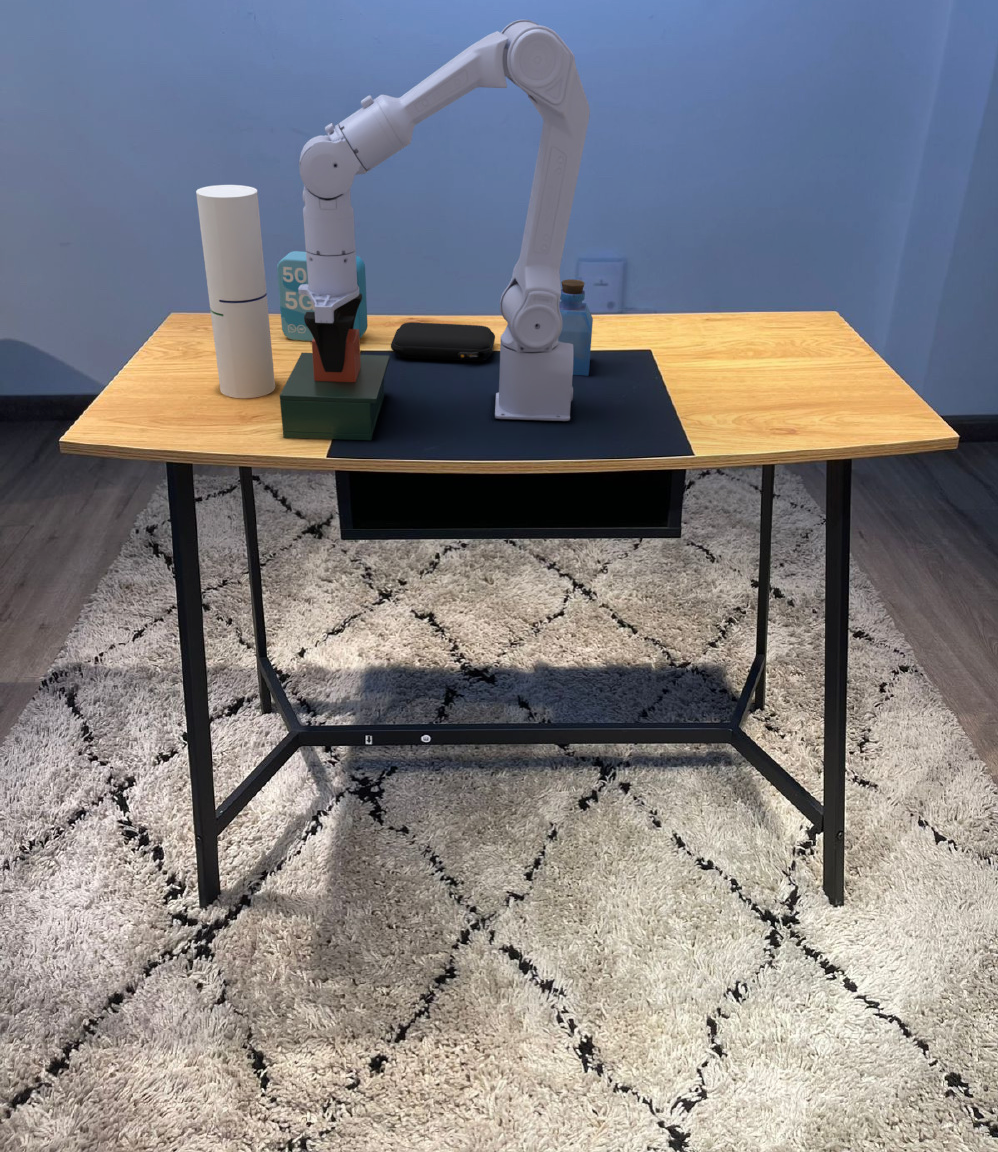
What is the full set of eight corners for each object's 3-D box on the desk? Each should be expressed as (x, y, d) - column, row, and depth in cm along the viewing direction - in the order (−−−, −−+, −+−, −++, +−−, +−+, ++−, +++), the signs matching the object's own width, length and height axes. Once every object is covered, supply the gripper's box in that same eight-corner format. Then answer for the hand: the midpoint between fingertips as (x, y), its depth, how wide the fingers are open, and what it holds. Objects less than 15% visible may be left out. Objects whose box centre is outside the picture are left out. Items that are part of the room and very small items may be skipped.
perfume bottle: (589, 360, 148) (596, 277, 142) (588, 375, 143) (595, 290, 137) (547, 357, 149) (551, 275, 142) (544, 372, 143) (549, 287, 137)
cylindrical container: (262, 400, 132) (242, 199, 119) (210, 395, 133) (185, 194, 120) (283, 381, 138) (266, 187, 125) (233, 375, 139) (211, 183, 126)
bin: (384, 394, 135) (383, 359, 132) (371, 440, 123) (369, 403, 120) (304, 392, 135) (302, 357, 132) (283, 437, 123) (279, 400, 120)
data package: (282, 339, 152) (275, 257, 146) (291, 329, 156) (285, 250, 149) (361, 345, 151) (357, 263, 144) (368, 335, 155) (365, 255, 148)
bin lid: (389, 359, 132) (389, 355, 132) (376, 403, 120) (376, 398, 120) (302, 356, 132) (301, 352, 132) (279, 399, 120) (279, 395, 120)
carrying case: (388, 363, 145) (491, 367, 144) (387, 342, 143) (492, 347, 143) (398, 338, 154) (495, 342, 153) (397, 318, 152) (495, 322, 152)
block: (360, 367, 128) (359, 328, 125) (355, 382, 124) (353, 342, 121) (321, 366, 128) (318, 327, 125) (314, 381, 124) (311, 341, 121)
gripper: (307, 233, 124) (314, 341, 131) (284, 265, 112) (293, 383, 119) (365, 235, 124) (369, 343, 131) (348, 267, 112) (354, 385, 119)
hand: (337, 362), depth 125 cm, fingers open, 5 cm apart
